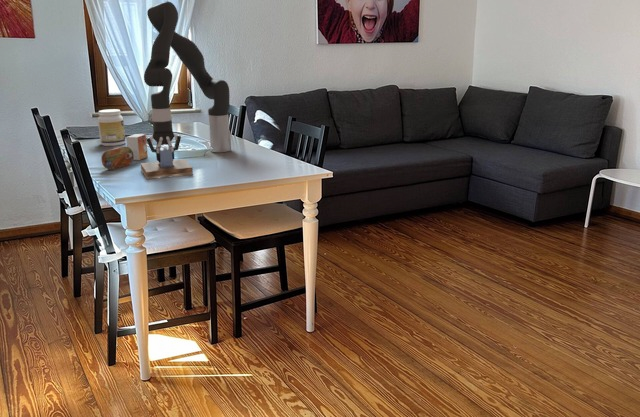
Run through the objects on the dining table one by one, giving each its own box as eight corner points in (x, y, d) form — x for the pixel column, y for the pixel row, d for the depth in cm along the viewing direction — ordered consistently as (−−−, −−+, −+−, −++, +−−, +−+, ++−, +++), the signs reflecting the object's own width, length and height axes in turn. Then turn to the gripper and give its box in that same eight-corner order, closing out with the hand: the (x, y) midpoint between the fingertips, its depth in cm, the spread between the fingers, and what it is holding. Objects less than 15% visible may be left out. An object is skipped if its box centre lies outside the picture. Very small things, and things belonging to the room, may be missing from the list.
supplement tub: (129, 144, 296) (125, 110, 290) (104, 147, 289) (100, 113, 284) (121, 140, 305) (118, 107, 300) (97, 143, 299) (93, 110, 294)
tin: (106, 171, 243) (104, 151, 240) (101, 170, 245) (99, 150, 242) (135, 164, 255) (133, 145, 253) (130, 163, 257) (128, 144, 254)
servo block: (169, 165, 245) (168, 144, 242) (174, 169, 237) (172, 148, 234) (158, 166, 243) (156, 145, 241) (162, 171, 235) (160, 149, 233)
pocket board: (184, 166, 251) (184, 159, 250) (192, 174, 237) (192, 167, 236) (141, 170, 244) (140, 163, 243) (147, 179, 230) (146, 172, 229)
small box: (139, 160, 262) (137, 137, 258) (128, 160, 263) (125, 136, 259) (148, 156, 269) (146, 134, 266) (137, 156, 270) (134, 133, 267)
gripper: (178, 116, 240) (181, 157, 245) (142, 119, 235) (146, 161, 240) (181, 119, 234) (185, 161, 239) (145, 122, 228) (149, 165, 233)
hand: (165, 161), depth 239 cm, fingers closed on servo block, 4 cm apart
